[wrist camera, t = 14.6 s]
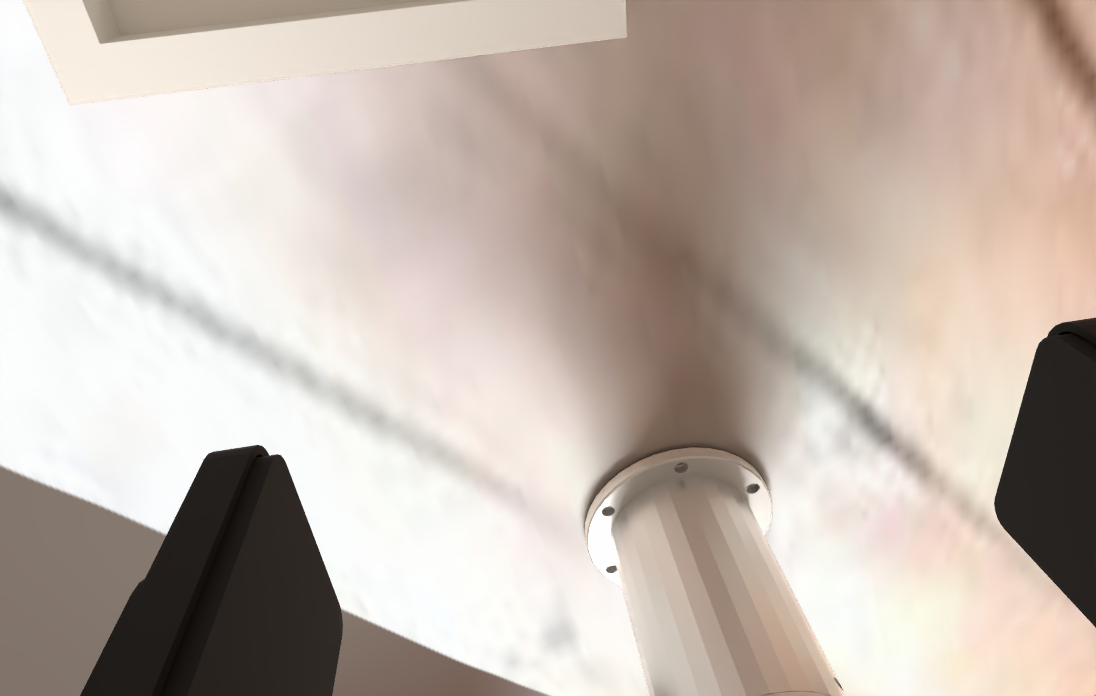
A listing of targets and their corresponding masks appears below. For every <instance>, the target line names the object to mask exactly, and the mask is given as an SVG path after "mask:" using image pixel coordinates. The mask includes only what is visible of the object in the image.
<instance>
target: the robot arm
mask: <svg viewBox="0 0 1096 696" xmlns="http://www.w3.org/2000/svg"><path fill="white" fill-rule="evenodd" d="M994 505H995V512H996V515H997V518H998V520H999V522H1000V524H1001V525H1002V526H1003V528H1004V529H1005V530H1006V531H1007V532H1008V533H1009V535H1010V536H1011V537H1012V538H1013V539H1014V540H1015V541H1016V542H1017V543H1018V544H1019V545H1020V546H1021V547H1022V549H1023V550H1024V551H1025V552H1026V553H1027V554H1028V555H1029V556H1030V557H1031V558H1032V559H1033V560H1034V561H1035V563H1036V564H1037V565H1038V566H1039V567H1040V568H1041V569H1042V570H1043V571H1044V572H1045V573H1046V574H1047V575H1048V577H1049V578H1050V579H1051V580H1052V581H1053V582H1054V583H1055V584H1056V585H1057V586H1058V587H1059V588H1060V589H1061V591H1062V592H1063V593H1064V594H1065V595H1066V596H1067V597H1068V598H1069V599H1070V600H1071V601H1072V602H1073V603H1074V605H1075V606H1076V607H1077V608H1078V609H1079V610H1080V611H1081V612H1082V613H1083V614H1084V615H1085V616H1086V617H1087V619H1088V620H1089V621H1090V622H1091V623H1092V624H1093V625H1094V626H1095V627H1096V318H1091V319H1084V320H1078V321H1071V322H1064V323H1061V324H1059V325H1056V326H1055V327H1054V328H1053V329H1052V330H1051V331H1050V332H1049V334H1048V336H1047V338H1044V339H1043V340H1042V341H1041V342H1040V343H1039V345H1038V347H1037V350H1036V353H1035V357H1034V360H1033V364H1032V367H1031V371H1030V375H1029V378H1028V382H1027V385H1026V389H1025V393H1024V396H1023V400H1022V403H1021V407H1020V410H1019V414H1018V418H1017V421H1016V425H1015V428H1014V432H1013V435H1012V439H1011V443H1010V446H1009V450H1008V453H1007V457H1006V460H1005V464H1004V468H1003V471H1002V475H1001V478H1000V482H999V486H998V489H997V493H996V496H995V502H994ZM771 518H772V500H771V496H770V493H769V490H768V488H767V486H766V484H765V482H764V481H763V479H762V477H761V475H760V474H759V473H758V472H757V471H756V470H755V468H754V467H753V466H752V465H750V464H749V463H748V462H746V461H745V460H743V459H742V458H740V457H738V456H736V455H733V454H731V453H728V452H726V451H721V450H716V449H712V448H693V447H691V448H682V449H674V450H669V451H666V452H662V453H658V454H654V455H652V456H650V457H647V458H645V459H643V460H640V461H638V462H636V463H634V464H632V465H631V466H629V467H628V468H626V469H624V470H623V471H621V472H620V473H618V474H617V475H616V476H615V477H614V478H613V479H611V480H610V481H609V482H608V483H607V484H606V485H605V486H604V487H603V489H602V490H601V491H600V492H599V493H598V494H597V496H596V497H595V499H594V501H593V503H592V505H591V506H590V508H589V511H588V514H587V518H586V521H585V538H586V544H587V549H588V552H589V555H590V557H591V560H592V562H593V563H594V565H595V566H596V567H597V569H598V570H599V571H600V572H601V573H602V574H603V575H604V576H606V577H607V578H608V579H609V580H611V581H613V582H615V583H617V584H619V585H621V586H622V590H623V594H624V598H625V602H626V606H627V610H628V613H629V617H630V621H631V625H632V629H633V633H634V637H635V641H636V644H637V648H638V652H639V656H640V660H641V664H642V668H643V672H644V675H645V679H646V683H647V687H648V691H649V695H650V696H846V695H845V693H844V691H843V689H842V687H841V685H840V683H839V681H838V680H837V678H836V676H835V674H834V672H833V670H832V668H831V666H830V664H829V662H828V660H827V658H826V656H825V654H824V652H823V650H822V648H821V646H820V644H819V642H818V640H817V638H816V636H815V634H814V632H813V630H812V629H811V627H810V625H809V623H808V621H807V619H806V617H805V615H804V613H803V611H802V609H801V607H800V605H799V603H798V601H797V599H796V597H795V595H794V593H793V591H792V589H791V587H790V585H789V583H788V581H787V579H786V577H785V575H784V573H783V571H782V569H781V567H780V565H779V563H778V561H777V559H776V557H775V555H774V553H773V551H772V549H771V547H770V545H769V543H768V541H767V540H766V538H765V535H766V533H767V531H768V529H769V526H770V522H771ZM342 624H343V623H342V613H341V608H340V605H339V602H338V599H337V596H336V594H335V591H334V589H333V586H332V583H331V581H330V578H329V575H328V573H327V570H326V567H325V565H324V562H323V560H322V557H321V554H320V552H319V549H318V546H317V544H316V541H315V538H314V536H313V533H312V531H311V528H310V525H309V523H308V520H307V517H306V515H305V512H304V509H303V507H302V504H301V502H300V499H299V496H298V494H297V491H296V488H295V486H294V483H293V480H292V478H291V475H290V473H289V470H288V467H287V465H286V463H285V460H284V459H283V457H282V456H281V455H278V454H277V455H271V456H269V454H268V452H267V451H266V449H265V448H264V447H263V446H260V445H255V446H249V447H242V448H235V449H229V450H222V451H216V452H212V453H209V454H208V455H207V456H206V458H205V459H204V461H203V463H202V465H201V467H200V469H199V471H198V473H197V475H196V477H195V479H194V481H193V483H192V485H191V487H190V489H189V491H188V493H187V495H186V497H185V499H184V501H183V503H182V505H181V507H180V509H179V511H178V513H177V515H176V517H175V519H174V521H173V523H172V525H171V527H170V529H169V531H168V533H167V536H166V538H165V540H164V542H163V544H162V546H161V548H160V550H159V552H158V554H157V556H156V558H155V560H154V562H153V564H152V566H151V568H150V570H149V572H148V574H147V576H146V578H145V579H144V580H143V581H141V582H140V583H139V584H138V585H137V587H136V588H135V590H134V591H133V593H132V594H131V596H130V598H129V600H128V602H127V604H126V606H125V608H124V610H123V612H122V614H121V616H120V618H119V620H118V622H117V624H116V625H115V627H114V630H113V631H112V633H111V635H110V637H109V639H108V641H107V644H106V645H105V647H104V649H103V651H102V653H101V655H100V657H99V659H98V661H97V663H96V665H95V667H94V669H93V671H92V673H91V675H90V677H89V679H88V681H87V683H86V685H85V687H84V689H83V691H82V693H81V695H80V696H332V693H333V687H334V681H335V675H336V669H337V663H338V657H339V651H340V645H341V639H342V628H343V625H342Z"/></svg>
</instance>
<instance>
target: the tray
mask: <svg viewBox="0 0 1096 696" xmlns="http://www.w3.org/2000/svg"><path fill="white" fill-rule="evenodd" d="M23 2H24V4H25V7H26V9H27V11H28V13H29V16H30V18H31V20H32V22H33V25H34V27H35V29H36V31H37V34H38V36H39V38H40V40H41V43H42V45H43V47H44V49H45V52H46V54H47V56H48V58H49V61H50V63H51V65H52V67H53V70H54V72H55V74H56V76H57V79H58V81H59V83H60V85H61V88H62V90H63V92H64V94H65V97H66V99H67V101H68V103H69V105H76V104H84V103H93V102H101V101H109V100H117V99H126V98H134V97H142V96H150V95H158V94H167V93H175V92H183V91H191V90H200V89H208V88H216V87H224V86H233V85H241V84H249V83H257V82H265V81H274V80H282V79H290V78H298V77H307V76H315V75H323V74H331V73H339V72H348V71H356V70H364V69H372V68H381V67H389V66H397V65H405V64H414V63H422V62H430V61H438V60H446V59H455V58H463V57H471V56H479V55H488V54H496V53H504V52H512V51H521V50H529V49H537V48H545V47H553V46H562V45H570V44H578V43H586V42H595V41H603V40H611V39H619V38H627V21H626V0H23Z"/></svg>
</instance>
